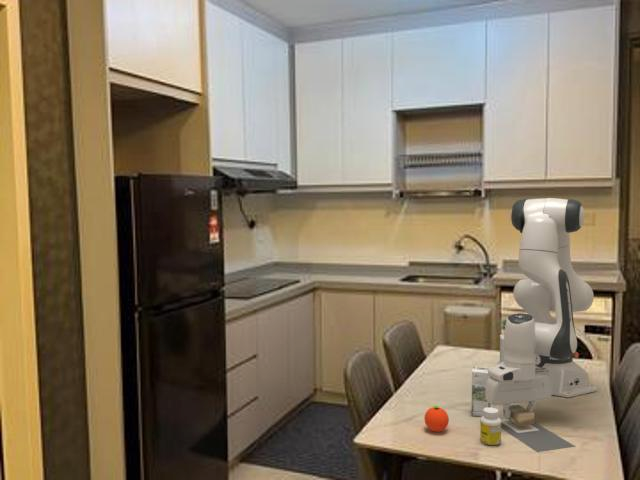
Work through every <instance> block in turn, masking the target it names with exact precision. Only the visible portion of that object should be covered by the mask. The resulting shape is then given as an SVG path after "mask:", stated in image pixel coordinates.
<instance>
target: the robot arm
mask: <svg viewBox="0 0 640 480" xmlns="http://www.w3.org/2000/svg"><path fill="white" fill-rule="evenodd" d="M585 217H586V215H585V209H584V207H583V204H582V202H581V201H579V200H577V199H572V198H569V199H566V198H565V199H564V198H556V197H547V198H530V199H528V198H522V199H518V200H516V201H514V203H513V204H512V207H511V210H510V221H511V225H512V227H514V229H516V230H517V231H519V233H520V234H521V235H520V236H521V237H520V242H519V251H518V267H519V269H520V271H521V272H522V274H523V275H524V276H525V277H527V278H525V279H519V281H517V282H516V284H515V285H514V287H513V298H514V301H515V302H516V304H517V305H518V306H519V307H521V309H523V310H524V311H525V313H522V312H521V313H520V312H518V313H513V314H509V316H507V317H506V322H505V326H504V334H503V335H504V347H505V355H504V362H501V363H500V362H499V363H498V364H496V365H494V366H492V367H488V368H489V369H488V375H489V376H491V377H489V378H488V380H487V383H486V400H487V402H488V403H490V404H491V406H493V407H494V406H502V409H503V408H504V410H505V416H506V417H507V418H513V412H512V411H510V410H509V408H508V407H510V405H513V404H519V403H526V402H527V406H526V407H524V408H525V409H527V410H529V411H530V412H532V413H533V410H534V408H535V407H536V403H537V401H543V400H544V401H545V400H546V401H547V400H550V398H551V397H552V396H556V397H557V396H559V397H562V398H573V397H576V396H581V395H585V394H589V393H595V392H596V391H597V387H596V386H595V385H593V384H592V383H590V378H589V374H588V372H587V371H586V370H585V369H584V368H583V367H581V366H580V364H577V362H576V361H574V360H573V358H575V359H577V358H579V355H580V353H578V351H577V348H578V340H577V333H576V327H575V323H574V322H575V321H574V314H573V313H576V312H585V311H587V310H589V309H590V308H591V307H592V305H593V302H594V299H595V298H594V297H595V296H594V291H593V288H592V287H591V286H590V284H589V283H587V282H586V281H584V280H583V279H582V278H581V277H579V275H577V273H576V271H575V270H574V267H573V265H572V259H571V242H570V241H571V238H570V236H571V233H575V232H578V231H579V230H580V229H582V226H583V224H584V222H585ZM551 311H553V312H554V311H555V318H554V317H553V315H552V314H551ZM506 417H505V418H506ZM507 418H506V419H507Z"/></svg>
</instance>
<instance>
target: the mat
mask: <svg viewBox="0 0 640 480" xmlns="http://www.w3.org/2000/svg"><path fill="white" fill-rule="evenodd" d="M500 420H501V430H503V431H504V432H506V433H508V434H509V435H511V436H512V437H513V438H515V439H516V440H518V441H519V442H521V443H523V444H524V445H526V446H527V447H528V448H531V450H533V451H535V452H537V453H541V452H549V451H554V450H555V451H556V450H562V449H568V448H576V445H574V444H572V443H571V442H569V441H567V440H566V439H564V438H562V437H561V436H559V435H557V434H556V433H553V432H552V431H551V430H549V429H547V428H545V427H543V426H542V425H540V424H539V423H538V422H535V421H534V424H530V425H522V426H519V425H517V424H515V423H514V422H512V421H511V420H509V419H507V418H506V419H500Z"/></svg>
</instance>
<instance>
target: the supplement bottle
mask: <svg viewBox="0 0 640 480" xmlns="http://www.w3.org/2000/svg"><path fill="white" fill-rule="evenodd" d="M483 415H484V416H482V417H480V432H479V433H480V436H479V437H480V444H482V445H483V446H486V447H491V448H497V447H500V446H501V445H502V428H501V420H502V419H501V418H500V417H499V409H498V408H495V407H491V408H490V407H487V408H484V409H483Z"/></svg>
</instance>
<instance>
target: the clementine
mask: <svg viewBox="0 0 640 480" xmlns="http://www.w3.org/2000/svg"><path fill="white" fill-rule="evenodd" d="M449 421H450V420H449V415H448V412H447V411H446V410H445V409H443V408H442V407H440V406H438V405H433V406H432V407H430V408H429V409H427V410H426V412H425V413H424V423H425V425H426V426H427V429H429V430H430V431H432V432H435V433H436V432H437V433H438V432H439V433H440V432H442V431H444V430H445V429H446V428H447V427H448V424H449V423H450V422H449Z"/></svg>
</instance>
